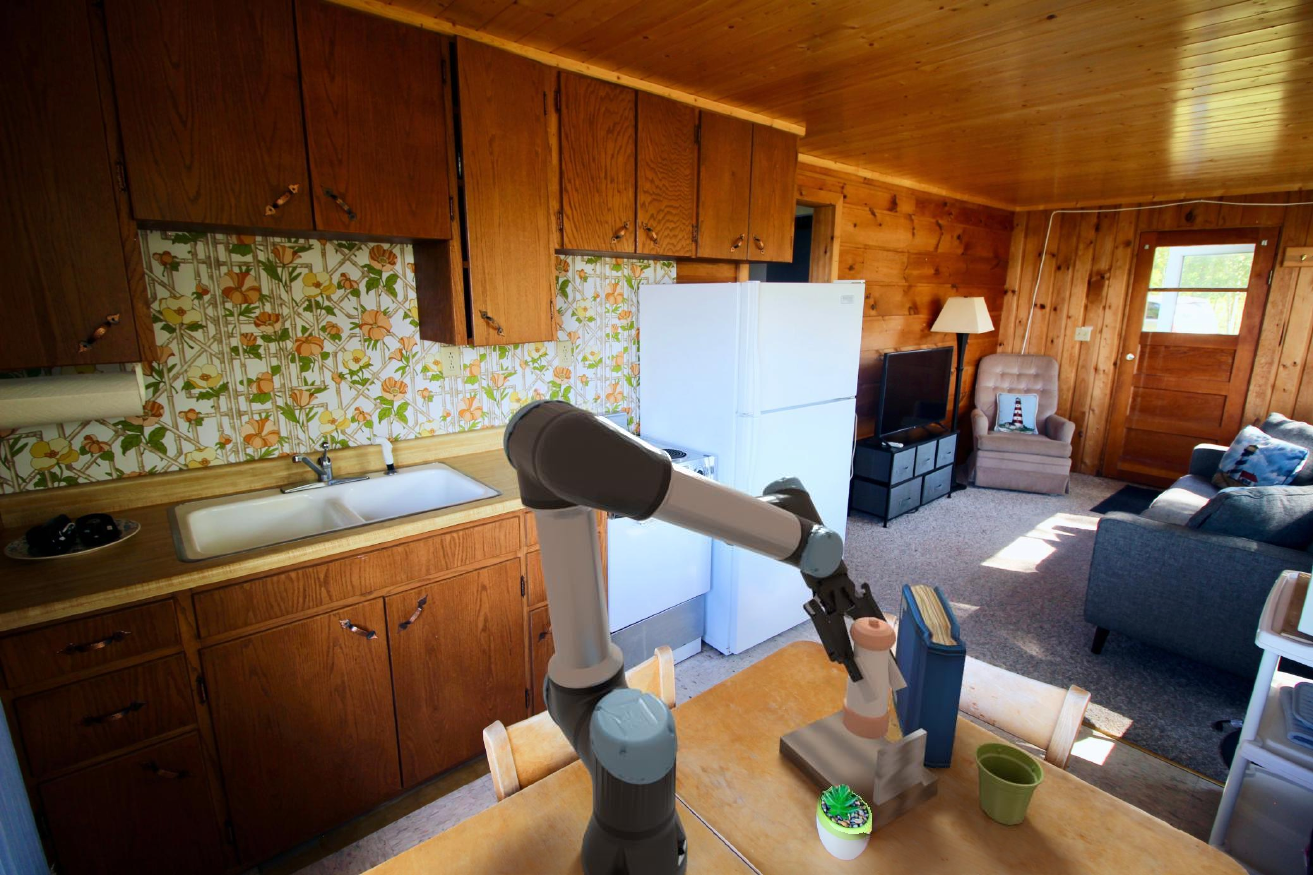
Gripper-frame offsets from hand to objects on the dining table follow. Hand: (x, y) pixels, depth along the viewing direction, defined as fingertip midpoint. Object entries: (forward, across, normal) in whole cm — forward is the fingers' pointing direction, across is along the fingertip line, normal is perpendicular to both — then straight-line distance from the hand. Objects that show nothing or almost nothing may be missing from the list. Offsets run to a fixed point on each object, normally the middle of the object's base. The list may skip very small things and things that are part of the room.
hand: (886, 694), depth 97 cm
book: (+9, -18, -17) cm, 26 cm away
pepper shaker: (+3, 0, -8) cm, 9 cm away
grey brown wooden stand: (+9, 0, -16) cm, 18 cm away
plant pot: (+21, -14, -4) cm, 26 cm away
